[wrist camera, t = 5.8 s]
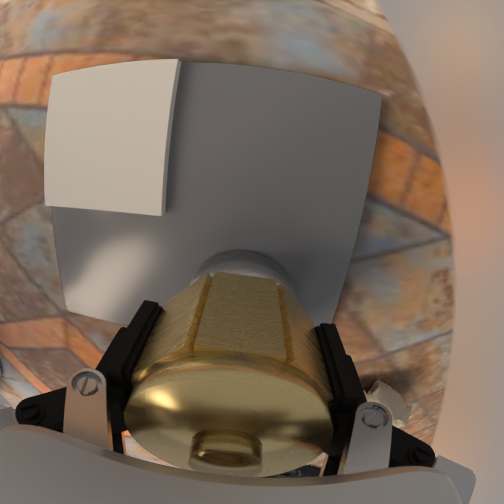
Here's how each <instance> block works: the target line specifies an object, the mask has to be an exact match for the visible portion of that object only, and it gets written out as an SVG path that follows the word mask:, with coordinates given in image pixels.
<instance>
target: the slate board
mask: <svg viewBox="0 0 504 504" xmlns="http://www.w3.org/2000/svg"><path fill="white" fill-rule="evenodd" d="M381 102H382V94H379V93H376V92H373V91H370V90H367V89H363V88H360V87H356V86H353V85H349V84H346V83H342V82H338V81H334V80H330V79H326V78H321V77H317V76H312V75H307V74H302V73H297V72H291V71H285V70H279V69H272V68H265V67H257V66H248V65H237V64H223V63H199V62H181V68H180V74H179V80H178V86H177V93H176V99H175V107H174V114H173V122H172V131H171V140H170V150H169V161H168V174H167V189H166V207H165V213H164V214H163V215H162V216H154V215H145V214H135V213H125V212H114V211H104V210H93V209H81V208H69V207H57V206H52V216H53V228H54V237H55V246H56V253H57V260H58V266H59V272H60V278H61V283H62V288H63V293H64V298H65V302H66V307H67V311H70V312H74V313H78V314H81V315H85V316H89V317H93V318H97V319H101V320H105V321H109V322H113V323H117V324H122V325H126V326H128V325H129V324H130V322H131V320H132V319H133V317H134V315H135V314H136V312H137V311H138V309H139V307H140V306H141V304H142V303H143V301H144V300H148V301H154V302H158V304H159V306H162V307H164V305H165V303H166V302H167V301H168V300H170V299H171V298H172V297H174V296H175V295H177V294H178V293H180V292H181V291H182V290H184V289H185V288H187V287H188V286H189V284H190V281H191V279H192V277H193V275H194V273H195V272H196V270H197V269H198V268H199V266H200V265H201V264H202V263H204V262H205V261H206V260H207V259H209V258H211V257H212V256H214V255H216V254H218V253H222V252H225V251H230V250H240V249H241V250H251V251H256V252H259V253H262V254H265V255H267V256H269V257H271V258H272V259H274V260H275V261H277V262H278V263H279V264H280V265H282V267H283V268H284V269H285V270H286V271H287V273H288V274H289V276H290V278H291V280H292V282H293V285H294V288H295V293H296V297H297V301H298V303H299V304H300V306H301V307H302V308H303V309H304V311H305V312H306V313H307V314H308V316H309V317H310V318H311V320H312V321H313V324H314V327H316V326H319V325H320V324H321V323H328V324H331V323H332V320H333V317H334V314H335V311H336V308H337V304H338V301H339V298H340V295H341V292H342V288H343V285H344V282H345V278H346V275H347V271H348V268H349V264H350V261H351V257H352V253H353V250H354V246H355V242H356V238H357V234H358V230H359V226H360V222H361V217H362V213H363V209H364V204H365V199H366V195H367V190H368V185H369V180H370V175H371V169H372V164H373V158H374V152H375V146H376V140H377V133H378V126H379V119H380V111H381Z"/></svg>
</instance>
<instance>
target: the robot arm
mask: <svg viewBox="0 0 504 504" xmlns="http://www.w3.org/2000/svg"><path fill="white" fill-rule="evenodd" d="M162 309H163V307H162V306H159V304H158V302H154V301H148V300H144V301H143V303H142V304H141V306H140V307H139V309H138V311H137V312H136V314H135V315H134V317H133V319H132V320H131V322H130V324H129V325H128V327H127V328H125V327H122V328H120V330H119V331H118V333H117V334H116V336H115V337H114V339H113V341H112V342H111V344H110V346H109V347H108V349H107V351H106V352H105V354H104V356H103V357H102V359H101V361H100V362H99V364H98V366H97V367H96V369H90V368H84V369H80V370H77V371H75V372H74V373H73V374H72V375H71V376H70V377H69V379H68V382H67V387H64V388H61V389H58V390H54V391H51V392H47V393H44V394H40V395H37V396H33V397H29V398H26V399H24V400H22V401H21V402H20V403H19V404H18V406H17V407H16V409H13V408H12V407H8V408H4V409H0V504H469V501H470V498H471V496H472V493H473V490H474V486H475V482H476V478H475V474H474V473H473V471H471V470H470V469H468V468H466V467H464V466H461V465H459V464H457V463H455V462H453V461H451V460H448V459H446V458H444V457H442V456H440V455H439V456H438V457H435V453H434V451H433V449H432V448H431V447H430V446H429V445H428V444H426V443H424V442H423V441H421V440H419V439H417V438H415V437H413V436H411V435H410V434H408V433H406V432H404V431H402V430H401V429H399V428H397V427H395V426H393V425H392V415H391V413H390V411H389V410H388V409H387V407H385V406H384V405H382V404H380V403H377V402H371V401H370V402H367V399H366V396H365V393H364V391H363V388H362V385H361V382H360V379H359V377H358V374H357V371H356V369H355V366H354V363H353V361H352V358H351V356H349V355H346V352H345V350H344V347H343V344H342V342H341V339H340V336H339V334H338V331H337V328H336V326H335V324H328V323H321V324H320V325H319V326H316V327H315V331H316V334H317V338H318V341H319V345H320V349H321V352H322V356H323V360H324V363H325V367H326V371H327V374H328V378H329V382H330V386H331V390H332V394H333V398H334V399H333V400H332V406H331V408H330V409H329V411H330V416H331V420H332V425H333V429H334V431H333V438H332V440H331V443H330V444H329V446H328V447H327V449H326V450H325V451H324V453H326V455H325V459H324V462H323V465H322V468H321V471H320V474H319V477H302V478H259V477H241V476H229V475H220V474H211V473H204V472H197V471H191V470H185V469H180V468H175V467H170V466H165V465H161V464H156V463H152V462H148V461H144V460H140V459H137V458H133V457H130V456H127V454H126V447H125V439H124V431H126V430H128V429H127V427H126V424H125V420H124V411H125V408H126V405H127V402H128V400H129V397H130V395H131V392H132V390H133V388H132V384H131V378H132V373H133V370H134V368H135V366H136V364H137V362H138V359H139V357H140V355H141V353H142V351H143V349H144V347H145V344H146V342H147V340H148V338H149V336H150V334H151V332H152V330H153V328H154V326H155V324H156V322H157V319H158V317H159V315H160V313H161V311H162ZM0 377H1V368H0Z"/></svg>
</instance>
